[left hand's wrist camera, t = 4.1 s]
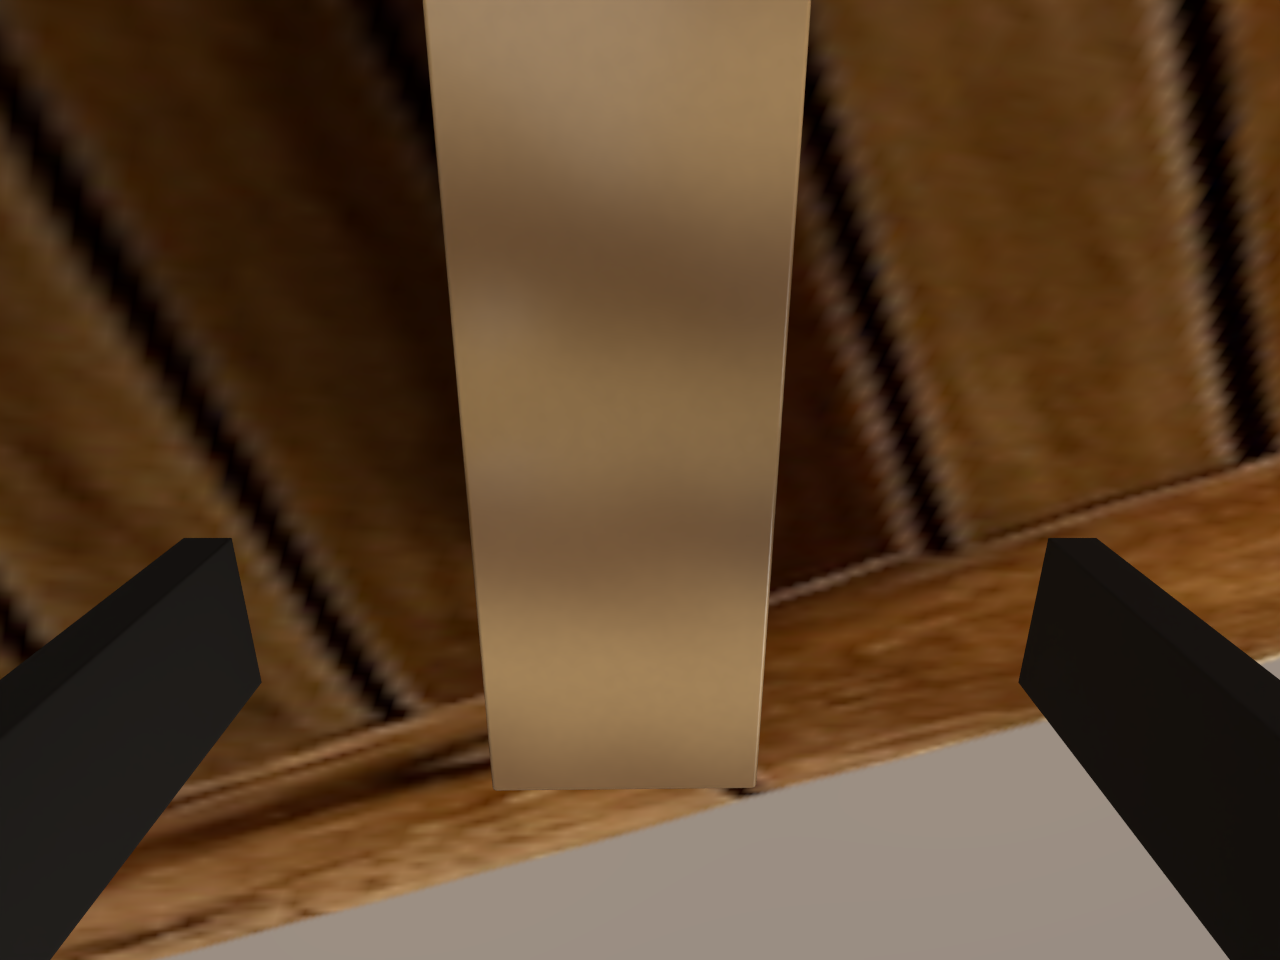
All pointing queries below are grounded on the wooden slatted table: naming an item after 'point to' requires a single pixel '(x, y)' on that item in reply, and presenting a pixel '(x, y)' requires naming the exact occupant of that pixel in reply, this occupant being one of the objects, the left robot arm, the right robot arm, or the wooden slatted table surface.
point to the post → (620, 369)
